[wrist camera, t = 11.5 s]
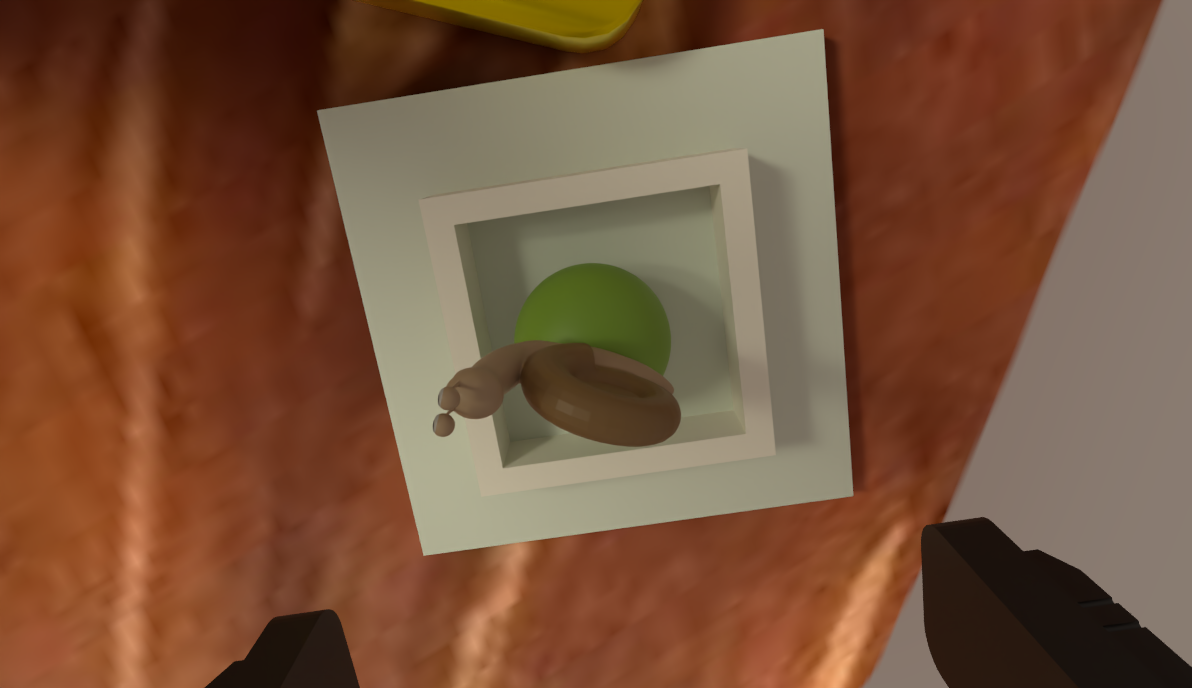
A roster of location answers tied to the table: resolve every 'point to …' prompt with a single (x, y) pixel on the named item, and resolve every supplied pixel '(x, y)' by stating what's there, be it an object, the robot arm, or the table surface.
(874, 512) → the table surface
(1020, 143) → the table surface
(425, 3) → the element tile
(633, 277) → the snail figurine
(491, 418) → the collar stand
